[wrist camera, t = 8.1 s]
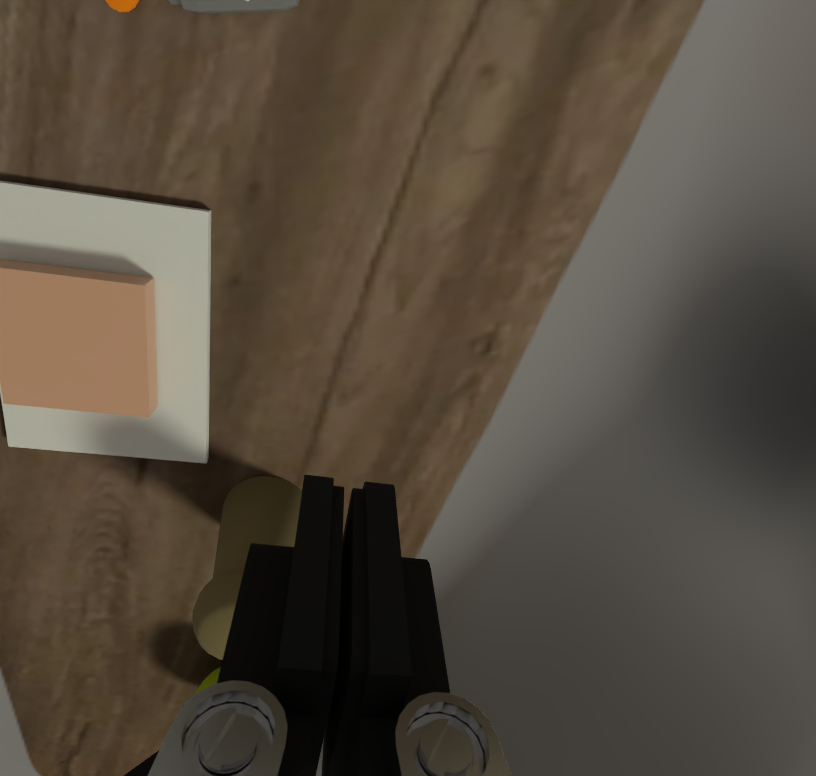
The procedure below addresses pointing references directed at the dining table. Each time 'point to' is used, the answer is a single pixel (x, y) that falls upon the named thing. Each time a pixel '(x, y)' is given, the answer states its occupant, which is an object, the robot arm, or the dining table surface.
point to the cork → (243, 550)
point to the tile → (77, 339)
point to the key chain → (216, 5)
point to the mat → (174, 311)
